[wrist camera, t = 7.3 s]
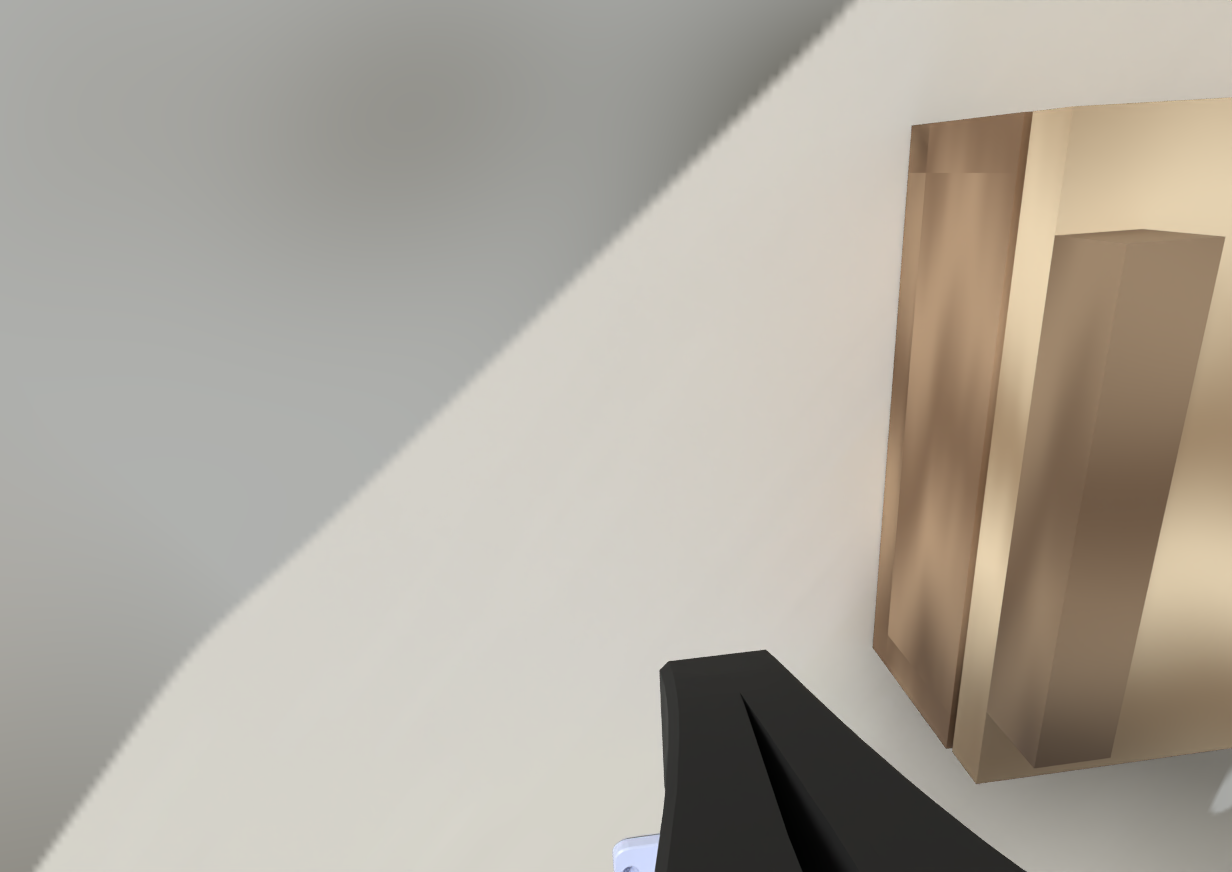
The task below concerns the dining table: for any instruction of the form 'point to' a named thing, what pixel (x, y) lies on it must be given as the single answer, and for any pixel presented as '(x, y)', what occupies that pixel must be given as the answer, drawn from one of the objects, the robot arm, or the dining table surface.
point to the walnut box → (945, 397)
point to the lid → (1109, 454)
